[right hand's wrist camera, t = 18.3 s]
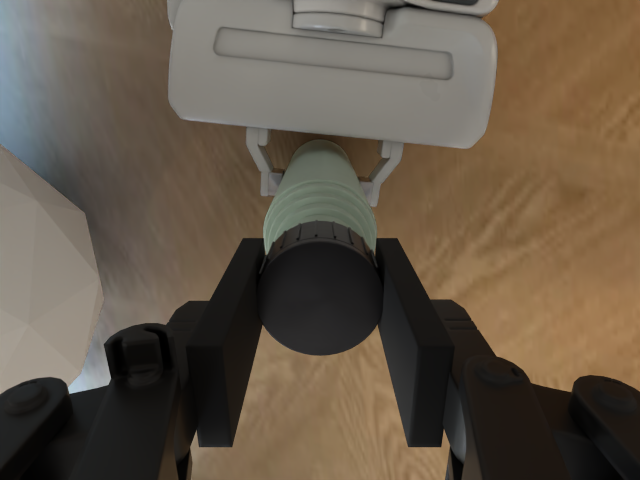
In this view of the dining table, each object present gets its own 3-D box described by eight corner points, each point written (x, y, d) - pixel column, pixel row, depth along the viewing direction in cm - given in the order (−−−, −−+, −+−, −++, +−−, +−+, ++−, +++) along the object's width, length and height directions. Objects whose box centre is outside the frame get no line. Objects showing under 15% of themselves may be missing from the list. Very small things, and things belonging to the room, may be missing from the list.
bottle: (321, 213, 36) (322, 386, 14) (276, 172, 34) (206, 296, 13) (363, 169, 34) (434, 291, 13) (318, 125, 33) (316, 181, 12)
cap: (399, 253, 14) (412, 278, 12) (340, 340, 16) (343, 376, 14) (296, 197, 14) (292, 215, 12) (243, 293, 15) (231, 324, 13)
